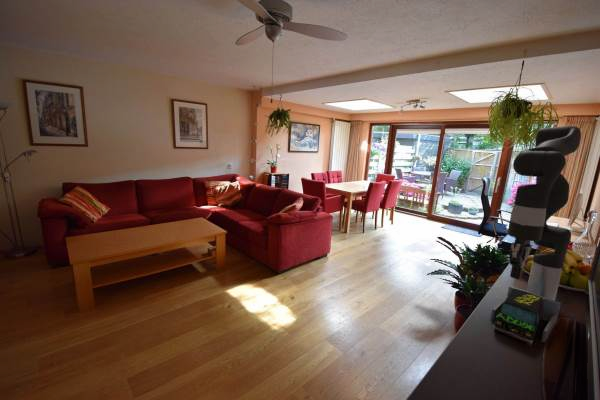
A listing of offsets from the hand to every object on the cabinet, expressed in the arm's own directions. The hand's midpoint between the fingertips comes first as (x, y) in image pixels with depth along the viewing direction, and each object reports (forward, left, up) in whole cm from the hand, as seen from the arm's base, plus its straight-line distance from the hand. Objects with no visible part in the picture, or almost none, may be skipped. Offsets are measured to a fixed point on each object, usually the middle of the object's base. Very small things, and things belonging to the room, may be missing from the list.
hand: (515, 277), depth 79 cm
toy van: (-20, 0, -24) cm, 31 cm away
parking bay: (-25, 0, -24) cm, 35 cm away
